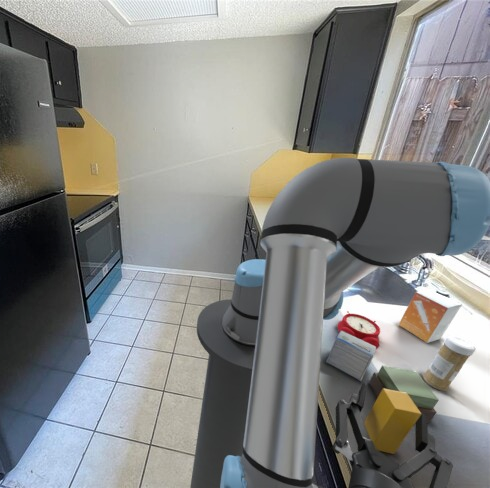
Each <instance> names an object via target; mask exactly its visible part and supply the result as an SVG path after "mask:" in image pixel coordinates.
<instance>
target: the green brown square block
mask: <svg viewBox="0 0 490 488" xmlns="http://www.w3.org/2000/svg"><path fill="white" fill-rule="evenodd" d="M368 383H369V385H370V387H371V389H372V390H373V392H374V395H375V396H376V398H378V396H379V395H380V393H381V391H382V389H383V388H384V389H389V390H394V391H399V392H404V393H407V394H408V395H409V397H410V398H411V399H412V401H413V402H414V404H415V405H416V407H417V408H418V410H419V411H420V412H421V414H424V415H426V416H427V424H430V423H431V421H432V420H433V419H434V418H435V416H436V415H437V410H436V409H435V407H436V405H437V404H438V403H439V401H440V399H439V397H437V395H436V394H435V393H434V391H433V390H432V389H431V387H429V384H428V383H427V382H426V381H425V380H424V378H423V377H421V375H420V374H419V373H418V371H415V370H409V369H405V368H399V367H393V366H387V365H381V367H380V369H379V370H378V372H376V371H375V372H374V371H373V374H372V375H371V376H370V379H369V381H368Z"/></svg>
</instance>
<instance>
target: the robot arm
mask: <svg viewBox="0 0 490 488" xmlns="http://www.w3.org/2000/svg"><path fill="white" fill-rule="evenodd" d="M489 228H490V179H489V177H488V176H487V175H486V174H485V173H484V172H483V171H481V170H480V169H478V168H476V167H473V166H470V165H463V164H454V163H447V162H445V161H436V162H432V161H431V162H427V161H411V160H410V161H409V160H408V161H407V160H391V159H389V160H387V159H368V158H355V157H337V158H336V157H335V158H334V157H333V158H329V159H326V160H322V161H320V162H317V163H315V164H312V165H310V166H309V167H307V168H305V169H304V170H302V171H301V172H299V173H298V174H296V175H295V176H293V178H291V179H290V181H288V182H287V183H286V184H285V185H284V187H283V188H282V189H281V190H280V191H279V192H278V194H277V195H276V197H274V199H273V201H272V202H271V204H270V205H269V208H268V210H267V212H266V214H265V217H264V220H263V223H262V228H261V233H260V234H261V235H260V240H259V241H260V242H259V244H260V246H261V248H262V249H263V251H264V252H265V253H266V254H265V259H260V258H254V259H249V260H248V259H247V260H246V261H243V262H241V263H240V264H238V267H237V269H236V274H235V276H234V277H233V279H234V280H233V282H234V284H233V291H232V296H231V299H232V300H231V299H230V300H231V305H230V306H229V308H228V309H227V311H226V313H225V314H224V316H223V319H222V329H223V331H224V333H225V334H226V335H227V336H228V337H229V338H230V339H231V340H233V341H234V342H236V343H239V344H241V345H244V346H249V347H255V353H254V361H253V369H252V377H251V386H250V394H249V402H248V410H247V419H246V427H245V435H244V443H243V454H242V457H240V456H232V455H228V456H227V457H226V458H225V460H224V464H223V470H222V476H221V484H220V488H325V487H323V486H321V485H319V484H316V483H313V480H314V478H313V477H314V471H315V470H314V469H315V456H316V442H317V441H316V439H317V426H318V425H317V423H318V409H319V408H318V407H319V391H320V390H319V389H320V376H321V357H322V342H323V328H324V327H323V326H324V321H329V320H332V319H334V318H335V317H336V316H338V314H339V312H340V310H341V309H342V307H343V303H344V291H346V290H347V289H348V288H350V287H352V286H353V285H355V284H356V283H357V282H359V281H360V280H362V279H364V278H366V276H368V275H369V274H371V273H372V272H374V271H376V270H377V269H378V268H396V267H399V266H402V265H405V264H407V263H408V262H410V261H412V260H413V259H415V258H417V257H418V256H420V255H423V254H435V255H436V256H437V257H445V256H450V257H451V256H453V257H454V256H460V255H463V254H466V253H467V252H469V251H471V250H472V249H474V247H476V246H477V245H478V244H479V243H480V241H482V239H483V238H484V236H485V235H486V233H487V232H488V229H489ZM367 392H368V384H366V383H365V382H363V383H362V385H361V386H360V389H359V391H358V394H356V393H355V392H354V393H352V395H351V397H350V399H349V402H346V401H345V399H343V398H340V399H339V400H338V402H337V403H336V406H335V441H334V442H333V445H332V446H331V448H332V451H333V452H334V453H335V454H337V455H339V454H341V455H343V456H344V457H345V458H346V459H348V460H349V463H350V467H351V473H350V478H349V483H348V488H415V486H414V484H413V483H412V481H411V480H410V479H411V478H412V477H414V476H415V475H417V474H418V473H419V472H420V471H422V470H423V469H424V468H426V467H427V466H429V465H430V464H431V465H432V466H434V471H433V474H432V477H431V479H430V482H429V483H430V484H429V486H428V488H448V485H449V481H450V478H451V475H452V471H453V467H454V465H453V463H452V462H451V461H450V460H449V459H447V458H445V457H442V456H440V455H439V454H438V451H437V450H436V438H435V436H433V435H432V434H430V433H428V423H427V416H426V415H424V414H421V415H420V417H419V418H418V420H417V421H416V423H415V435H414V437H415V440H414V441H415V442H414V444H415V445H414V447H415V448H414V449H415V451H416V452H418V453H417V454H416V455H414V456H413V457H412V458H411V459H409V460H408V461H405V462H404V463H403V464H401V465H400V463H399V462H398V461H396V460H394V459H392V458H390V457H388V456H386V455H385V454H384V452H382V451H378V450H377V449H376V448H375V446H374V443H373V441H372V440H370V437H369V435H368V432H367V429H366V427H365V424H364V422H365V421H364V419H363V417H362V414H361V413H362V410H363V408H364V405H365V401H366V395H367ZM348 421H349V425H350V427H351V430H352V433H353V435H354V439H355V442H356V445H357V451H355V452H353V451H352V449H351V445H350V441H349V440H348V437H349V426H348Z"/></svg>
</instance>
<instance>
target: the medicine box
mask: <svg viewBox="0 0 490 488" xmlns="http://www.w3.org/2000/svg"><path fill="white" fill-rule="evenodd" d="M376 350H377V349H376V347H375V346H373V345H371V344H369V343H367V342H365V341H363V340H361V339H358V338H356V337H354V336H352V335H350V334H348V333H345V332H343V331H340V332H339V333H338V332H337V334H336V337H335V339H334V340H333V344H332V347H331V349H330V351H329V354H328V357H327V359H326V361H325V362H326V363H327V364H329V365H331V366H332V367H335V368H336V369H338V370H340V371H342V372H344V373H345V374H347V375H349V376H351V377H353V378H355V379H356V380H358V381H360V382H362V380H363V378H364V376H365V374H366V372H367V370H368V368H369V366H370V364H371V363H372V360H373V358H374V357H375V354H376Z"/></svg>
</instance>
